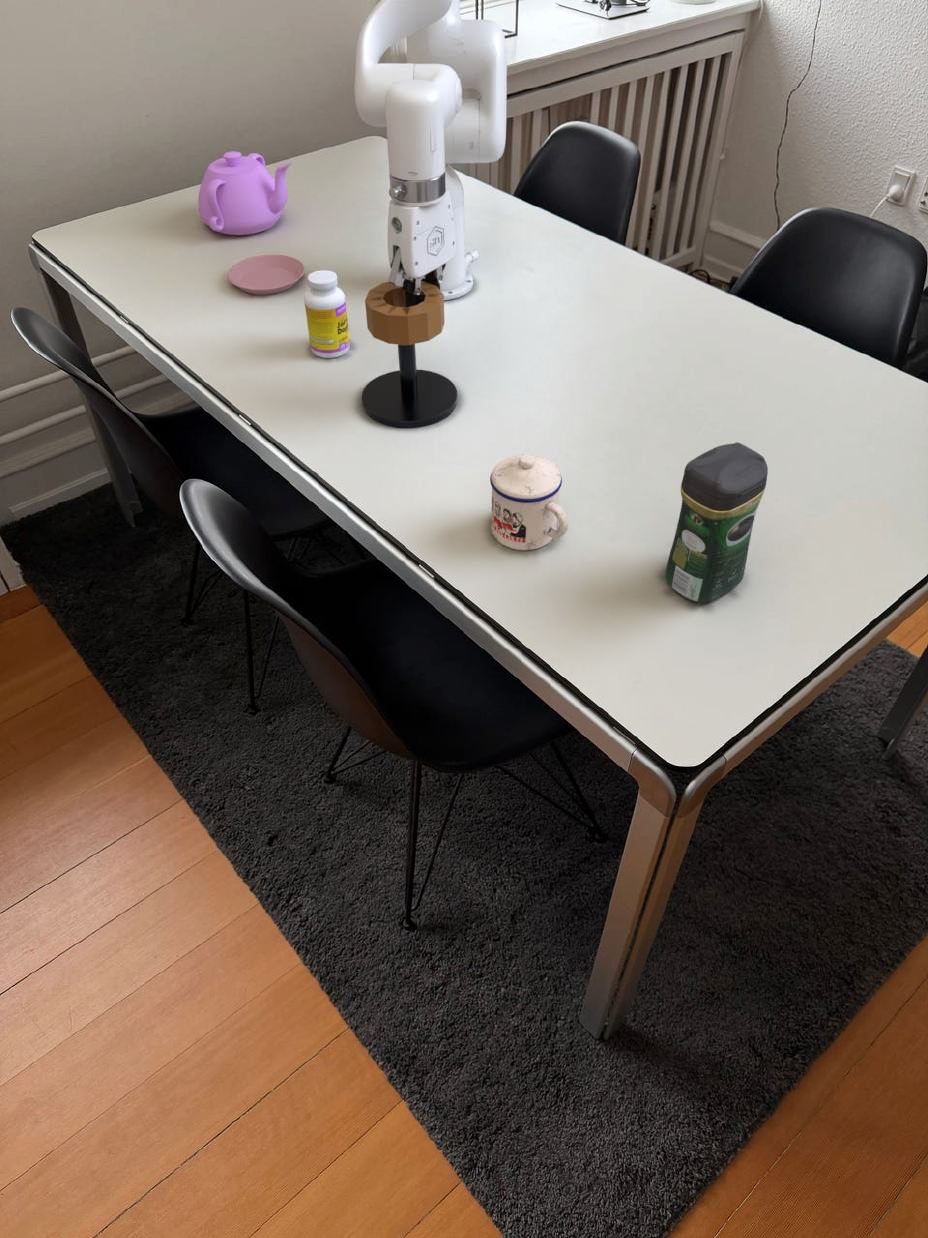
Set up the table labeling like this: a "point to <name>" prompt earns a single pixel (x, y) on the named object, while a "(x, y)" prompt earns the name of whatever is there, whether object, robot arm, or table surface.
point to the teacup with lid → (526, 502)
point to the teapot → (242, 194)
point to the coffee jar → (715, 521)
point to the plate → (266, 274)
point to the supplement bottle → (326, 315)
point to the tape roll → (404, 314)
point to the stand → (409, 395)
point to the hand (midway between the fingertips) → (423, 310)
